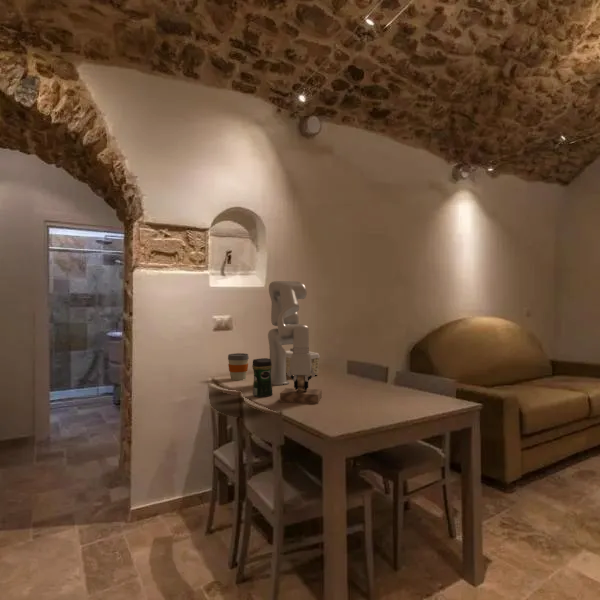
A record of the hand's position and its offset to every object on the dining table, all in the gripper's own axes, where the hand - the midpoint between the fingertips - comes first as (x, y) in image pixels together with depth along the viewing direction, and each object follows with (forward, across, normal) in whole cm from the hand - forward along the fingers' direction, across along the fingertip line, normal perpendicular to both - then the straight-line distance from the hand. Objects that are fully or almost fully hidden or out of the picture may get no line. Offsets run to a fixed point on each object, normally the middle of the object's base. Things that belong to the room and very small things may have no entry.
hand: (301, 389), depth 206 cm
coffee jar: (+5, -21, +6) cm, 22 cm away
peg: (+3, 0, 0) cm, 3 cm away
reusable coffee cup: (+5, -48, +48) cm, 68 cm away
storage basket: (+5, -14, +71) cm, 72 cm away
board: (+5, 0, 0) cm, 5 cm away
